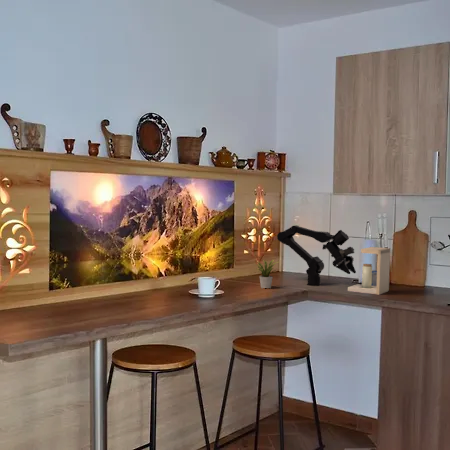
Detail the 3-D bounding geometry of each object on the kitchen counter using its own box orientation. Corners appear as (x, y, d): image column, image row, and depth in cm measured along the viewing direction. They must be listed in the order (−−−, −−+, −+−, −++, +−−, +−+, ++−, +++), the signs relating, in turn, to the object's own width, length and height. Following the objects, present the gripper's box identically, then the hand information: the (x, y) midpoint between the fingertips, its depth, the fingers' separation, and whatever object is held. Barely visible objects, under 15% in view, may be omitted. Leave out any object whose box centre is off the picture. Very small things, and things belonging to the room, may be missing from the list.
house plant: (281, 286, 360) (282, 256, 359) (281, 290, 346) (282, 259, 345) (255, 285, 361) (256, 255, 360) (254, 289, 347) (254, 258, 346)
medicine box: (361, 284, 375) (362, 269, 375) (367, 283, 378) (367, 268, 377) (372, 286, 369) (373, 270, 368) (378, 285, 372) (378, 270, 371)
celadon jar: (363, 290, 349) (364, 264, 348) (360, 289, 354) (361, 263, 353) (372, 291, 349) (373, 264, 348) (369, 289, 354) (370, 263, 353)
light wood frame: (346, 291, 349) (348, 248, 347) (357, 287, 362) (359, 246, 361) (379, 294, 340) (380, 250, 338) (388, 290, 353) (390, 248, 352)
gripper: (340, 241, 350) (358, 264, 344) (351, 241, 366) (369, 263, 361) (324, 254, 354) (342, 277, 349) (337, 254, 370) (354, 275, 365)
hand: (352, 273), depth 356 cm, fingers open, 9 cm apart
